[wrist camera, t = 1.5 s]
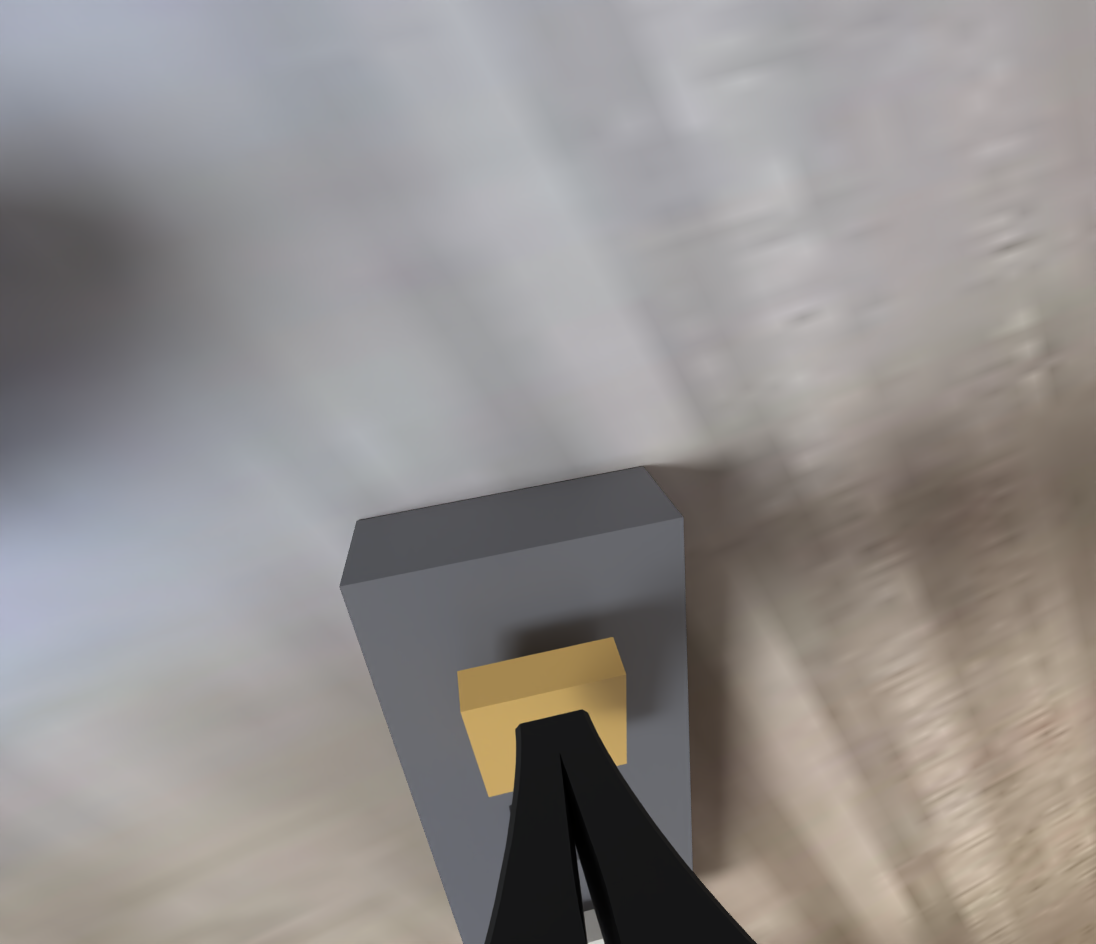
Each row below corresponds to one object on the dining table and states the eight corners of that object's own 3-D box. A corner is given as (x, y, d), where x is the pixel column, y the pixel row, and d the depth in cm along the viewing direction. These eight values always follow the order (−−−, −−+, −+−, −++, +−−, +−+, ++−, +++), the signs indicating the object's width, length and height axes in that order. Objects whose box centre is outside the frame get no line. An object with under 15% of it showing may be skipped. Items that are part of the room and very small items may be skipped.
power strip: (669, 920, 26) (698, 1007, 23) (496, 968, 25) (503, 1064, 23) (643, 465, 16) (686, 521, 13) (356, 520, 15) (338, 591, 13)
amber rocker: (615, 727, 16) (626, 763, 15) (484, 758, 15) (488, 797, 15) (613, 636, 13) (625, 674, 12) (457, 671, 13) (460, 712, 12)
